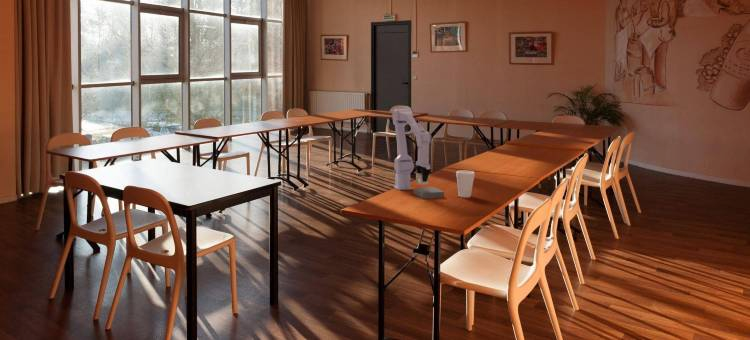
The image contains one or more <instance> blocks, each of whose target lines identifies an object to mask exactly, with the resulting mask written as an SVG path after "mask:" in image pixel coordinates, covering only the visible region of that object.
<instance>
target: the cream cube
mask: <svg viewBox="0 0 750 340" xmlns="http://www.w3.org/2000/svg"><path fill="white" fill-rule="evenodd" d="M429 177H430V174H429V175H428V179H427V182H423V180H422V173H417V172H416V173H415V183H416V184H417V185H418V186H419V185H429Z"/></svg>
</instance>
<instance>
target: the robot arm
mask: <svg viewBox="0 0 750 340" xmlns="http://www.w3.org/2000/svg"><path fill="white" fill-rule="evenodd" d="M391 117H392V124H393V125H394V128H395V129H394V131H395V137H396V138H395V139H396V145H397V154H398V155H397V157H395V158H394V164H393V167H394V168H393V169H394V171H395V175H394V185H393V187H394V188H395V189H397V190H399V191H406V190H414V188H413V187H411V174H412V172H413V170H414V169H415V171H416V173H422V180H423V182H427V179H428V175H429V176H430V174H431V173H430V172H431V171H432V168H431V165H430V163H429V159H430V143H431V142H432V134H431V132H430V131H426V130H425V128H424V127H423V126H422V125H421V123H418V122H417V121H416V119H415V118H414V113H413V111H412V109H410V108H405V109H404V108H402V109H401V108H400V109H397V108H396V109H394V110H393V112H392V115H391ZM406 125H409V126H410V128H411V129H410V131H411V132H412V134H413V135H414V137H415V141H416V147H417V160H416V161H415V164H414V162H413V158H412V156H410V155H409V154H408V146H407V138H406V129H405V126H406Z"/></svg>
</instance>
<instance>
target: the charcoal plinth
mask: <svg viewBox="0 0 750 340" xmlns="http://www.w3.org/2000/svg"><path fill="white" fill-rule="evenodd" d="M413 195H415V196H417V197H418V198H420V199H423V200H424V199H425V200H426V199H439V198H440V199H441V198H445V196H444V195H445V191H443V190H441V189H439V188H437V187H434V186H433V187H432V186H431V187H417V188H413Z"/></svg>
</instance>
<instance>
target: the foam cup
mask: <svg viewBox="0 0 750 340" xmlns="http://www.w3.org/2000/svg"><path fill="white" fill-rule="evenodd" d="M455 176H456V183H457V193H458V197H459V196H460V198H471V197H472V196H471V195H472V191H473V190H472V189H473V186H474V180H475V171H473V170H463V169H462V170H456V174H455Z"/></svg>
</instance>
